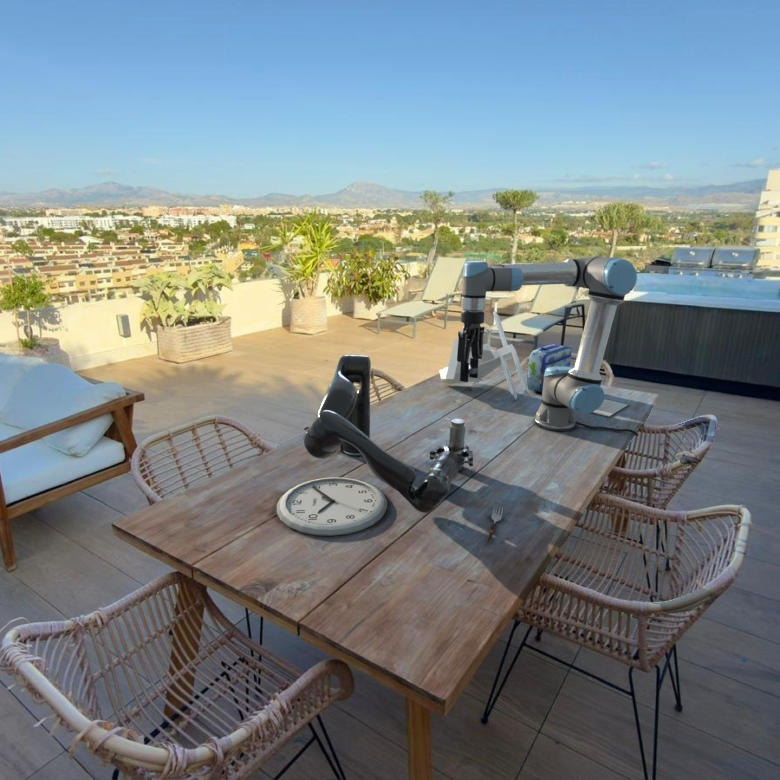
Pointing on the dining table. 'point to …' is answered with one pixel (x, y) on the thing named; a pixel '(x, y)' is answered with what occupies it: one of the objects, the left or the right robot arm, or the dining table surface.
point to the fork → (494, 518)
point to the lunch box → (546, 363)
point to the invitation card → (609, 408)
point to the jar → (457, 436)
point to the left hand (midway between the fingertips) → (458, 446)
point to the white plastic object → (486, 363)
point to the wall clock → (331, 506)
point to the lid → (473, 369)
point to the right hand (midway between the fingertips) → (468, 379)
